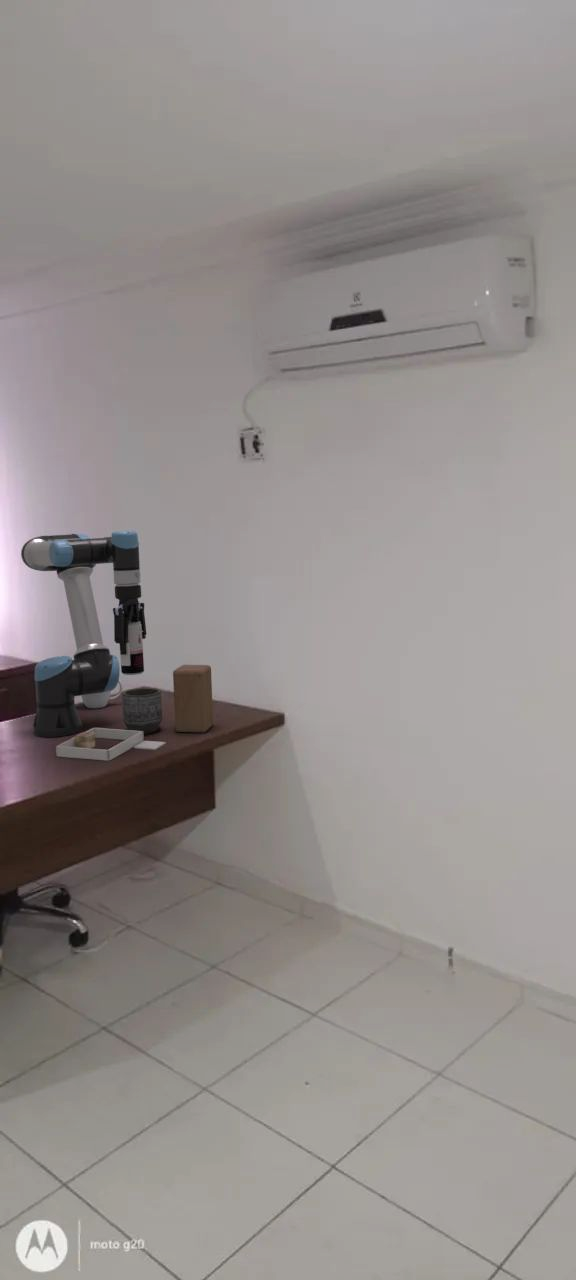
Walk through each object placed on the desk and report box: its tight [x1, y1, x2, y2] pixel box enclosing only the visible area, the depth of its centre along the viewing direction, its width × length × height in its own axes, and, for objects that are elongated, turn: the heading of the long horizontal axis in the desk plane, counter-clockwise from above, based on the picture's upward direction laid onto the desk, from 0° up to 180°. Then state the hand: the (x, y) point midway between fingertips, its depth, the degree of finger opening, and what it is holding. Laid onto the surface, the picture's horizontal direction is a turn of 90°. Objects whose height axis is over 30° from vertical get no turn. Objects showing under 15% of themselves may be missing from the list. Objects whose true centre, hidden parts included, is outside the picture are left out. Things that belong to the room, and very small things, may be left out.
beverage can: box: [119, 621, 145, 676], centre depth 270 cm, size 7×7×15 cm
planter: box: [121, 687, 163, 735], centre depth 293 cm, size 12×12×13 cm
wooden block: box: [172, 664, 214, 734], centre depth 293 cm, size 10×10×20 cm
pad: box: [133, 740, 167, 751], centre depth 276 cm, size 7×7×1 cm
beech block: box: [75, 732, 96, 749], centre depth 276 cm, size 4×4×4 cm
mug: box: [81, 678, 123, 709], centre depth 327 cm, size 15×11×13 cm
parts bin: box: [55, 727, 145, 761], centre depth 275 cm, size 17×21×3 cm
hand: (132, 663), depth 271 cm, fingers closed on beverage can, 6 cm apart
